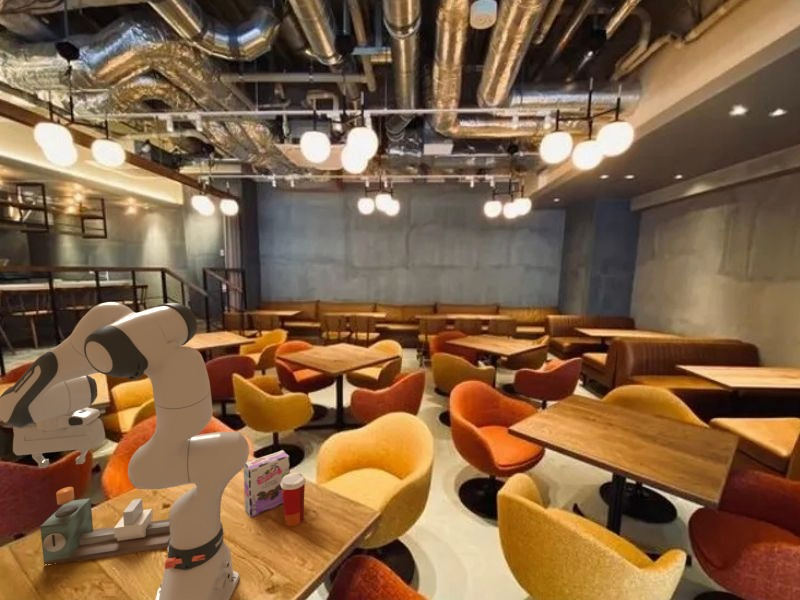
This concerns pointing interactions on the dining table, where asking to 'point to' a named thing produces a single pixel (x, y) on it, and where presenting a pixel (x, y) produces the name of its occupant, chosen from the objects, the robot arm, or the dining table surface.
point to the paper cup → (293, 498)
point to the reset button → (65, 495)
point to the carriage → (133, 521)
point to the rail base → (118, 546)
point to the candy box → (265, 482)
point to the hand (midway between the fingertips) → (62, 464)
